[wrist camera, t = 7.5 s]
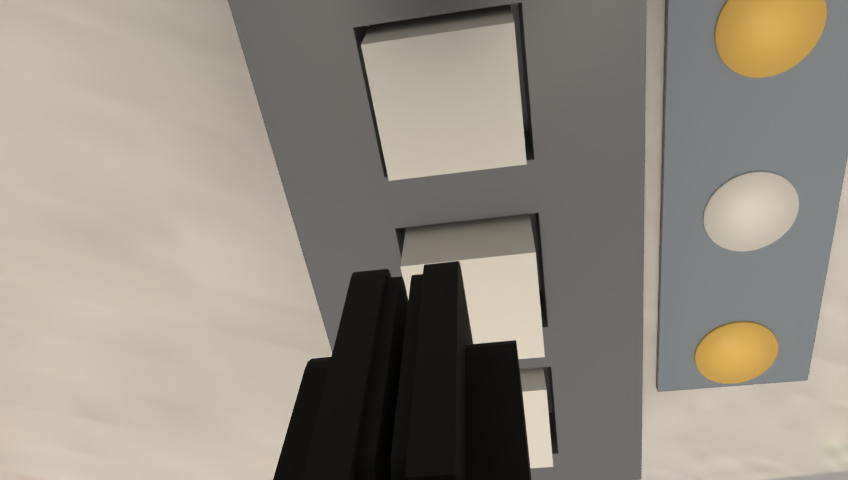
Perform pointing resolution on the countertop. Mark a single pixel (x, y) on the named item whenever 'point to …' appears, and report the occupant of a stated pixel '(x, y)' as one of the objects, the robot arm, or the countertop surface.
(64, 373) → the countertop surface
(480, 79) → the key
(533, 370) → the key
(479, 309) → the key middle
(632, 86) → the button board
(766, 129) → the pattern card
